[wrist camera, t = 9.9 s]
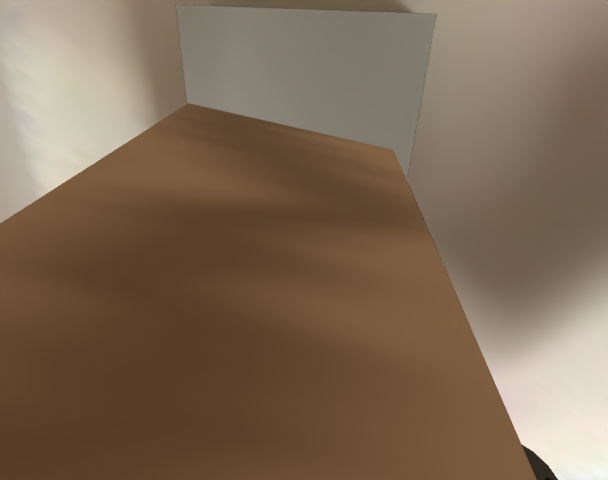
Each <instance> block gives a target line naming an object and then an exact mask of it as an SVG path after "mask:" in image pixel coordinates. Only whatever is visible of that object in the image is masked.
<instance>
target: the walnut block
mask: <svg viewBox="0 0 608 480" xmlns="http://www.w3.org/2000/svg"><path fill="white" fill-rule="evenodd" d="M0 480H537V479H536V477H535V475H534V473H533V470H532V468H531V466H530V463H529V461H528V459H527V456H526V454H525V452H524V449H523V447H522V445H521V443H520V440H519V438H518V436H517V433H516V431H515V429H514V426H513V424H512V422H511V419H510V417H509V415H508V413H507V410H506V408H505V406H504V403H503V401H502V399H501V396H500V394H499V392H498V389H497V387H496V385H495V383H494V380H493V378H492V376H491V373H490V371H489V369H488V366H487V364H486V362H485V359H484V357H483V355H482V353H481V350H480V348H479V346H478V343H477V341H476V339H475V336H474V334H473V332H472V330H471V327H470V325H469V323H468V320H467V318H466V316H465V313H464V311H463V309H462V306H461V304H460V302H459V300H458V297H457V295H456V293H455V290H454V288H453V286H452V283H451V281H450V279H449V276H448V274H447V272H446V270H445V267H444V265H443V263H442V260H441V258H440V256H439V253H438V251H437V249H436V246H435V244H434V242H433V240H432V237H431V235H430V233H429V230H428V228H427V226H426V223H425V221H424V219H423V217H422V214H421V212H420V210H419V207H418V205H417V203H416V200H415V198H414V196H413V193H412V191H411V189H410V187H409V184H408V182H407V180H406V177H405V175H404V173H403V170H402V168H401V166H400V163H399V161H398V159H397V157H396V154H395V152H394V150H392V149H388V148H384V147H379V146H375V145H370V144H366V143H362V142H357V141H353V140H349V139H344V138H340V137H335V136H331V135H327V134H322V133H318V132H313V131H309V130H305V129H300V128H296V127H291V126H287V125H283V124H278V123H274V122H270V121H265V120H261V119H256V118H252V117H248V116H243V115H239V114H234V113H230V112H226V111H221V110H217V109H212V108H208V107H204V106H199V105H195V104H191V103H188V104H187V105H185V106H184V107H182V108H180V109H179V110H177V111H176V112H174V113H173V114H171V115H169V116H168V117H166V118H165V119H163V120H162V121H160V122H159V123H157V124H155V125H154V126H152V127H151V128H149V129H148V130H146V131H144V132H143V133H141V134H140V135H138V136H137V137H135V138H133V139H132V140H130V141H129V142H127V143H126V144H124V145H122V146H121V147H119V148H118V149H116V150H115V151H113V152H112V153H110V154H108V155H107V156H105V157H104V158H102V159H101V160H99V161H97V162H96V163H94V164H93V165H91V166H90V167H88V168H86V169H85V170H83V171H82V172H80V173H79V174H77V175H75V176H74V177H72V178H71V179H69V180H68V181H66V182H65V183H63V184H61V185H60V186H58V187H57V188H55V189H54V190H52V191H50V192H49V193H47V194H46V195H44V196H43V197H41V198H39V199H38V200H37V201H35V202H33V203H32V204H30V205H28V206H27V207H25V208H24V209H23V210H21V211H19V212H18V213H16V214H14V215H13V216H11V217H10V218H8V219H7V220H5V221H4V222H2V223H0Z"/></svg>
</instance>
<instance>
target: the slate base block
mask: <svg viewBox="0 0 608 480" xmlns="http://www.w3.org/2000/svg"><path fill="white" fill-rule="evenodd" d="M175 6H176V14H177V23H178V31H179V40H180V48H181V56H182V65H183V73H184V81H185V90H186V98H187V104H188V103H191V104H195V105H199V106H204V107H208V108H212V109H217V110H221V111H226V112H230V113H234V114H239V115H243V116H248V117H252V118H256V119H261V120H265V121H270V122H274V123H278V124H283V125H287V126H291V127H296V128H300V129H305V130H309V131H313V132H318V133H322V134H327V135H331V136H335V137H340V138H344V139H349V140H353V141H357V142H362V143H366V144H370V145H375V146H379V147H384V148H388V149H392V150H394V152H395V154H396V157H397V159H398V161H399V163H400V166H401V168H402V170H403V173H404V175H405V177H406V180H407V177H408V171H409V165H410V160H411V154H412V149H413V143H414V137H415V132H416V126H417V121H418V115H419V109H420V104H421V98H422V93H423V87H424V81H425V76H426V70H427V65H428V59H429V53H430V48H431V42H432V37H433V31H434V25H435V20H436V14H423V13H396V12H368V11H340V10H312V9H284V8H256V7H228V6H200V5H175Z"/></svg>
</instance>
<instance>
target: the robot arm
mask: <svg viewBox="0 0 608 480" xmlns="http://www.w3.org/2000/svg"><path fill="white" fill-rule="evenodd" d="M522 447H523V449H524V452H525V454H526V456H527V459H528V461H529V463H530V466H531V468H532V470H533V473H534V475H535V477H536V479H537V480H558V479H557V478H556V476H555V475H554V473H553V472H552V470H551V469H550V468H549V466H548V465H547V464H546V463H545V462H544V461H543V460H541V459H540V458H539V457H538V456H537V455H536V454H535V453H534V452H533V451H531V450H530V449H528V448H526V447H525V446H523V445H522Z"/></svg>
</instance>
